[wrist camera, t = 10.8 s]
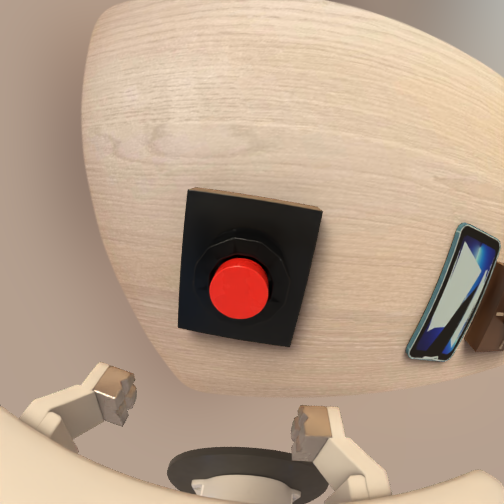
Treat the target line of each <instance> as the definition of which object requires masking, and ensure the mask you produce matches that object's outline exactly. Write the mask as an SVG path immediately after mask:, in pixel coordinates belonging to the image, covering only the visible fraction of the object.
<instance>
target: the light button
mask: <svg viewBox="0 0 504 504" xmlns="http://www.w3.org/2000/svg"><path fill="white" fill-rule="evenodd" d="M268 288H269V282H268V277H267V275H266V272H265V271H264V269H263V268H262V267H261V266H260V265H259V264H257V263H256V262H254V261H252V260H250V259H246V258H233V259H230V260H228V261H226V262H224V263H223V264H222V265H221V266H220V267H219V268H218V269H217V271H216V273H215V275H214V277H213V279H212V281H211V284H210V288H209V293H210V298H211V301H212V303H213V305H214V306H215V307H216V309H217V310H218V311H220V312H221V313H222V314H224V315H226V316H228V317H230V318H234V319H246V318H250V317H253V316H255V315H256V314H258V313H259V312H260V311H261V310H262V309H263V308H264V307H265V305H266V303H267V300H268Z"/></svg>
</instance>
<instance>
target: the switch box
mask: <svg viewBox="0 0 504 504" xmlns="http://www.w3.org/2000/svg"><path fill="white" fill-rule="evenodd" d="M322 213H323V211H322V210H320V209H319V208H318V207H316V206H310V205H305V204H300V203H294V202H289V201H283V200H277V199H272V198H266V197H259V196H253V195H247V194H241V193H234V192H227V191H220V190H213V189H206V188H198V187H195V188H192V189H188V193H187V202H186V211H185V221H184V232H183V243H182V256H181V270H180V287H179V308H178V328H182V329H187V330H191V331H196V332H201V333H206V334H211V335H216V336H222V337H227V338H233V339H238V340H244V341H251V342H257V343H263V344H270V345H277V346H285V347H290V345H291V341H292V338H293V334H294V330H295V327H296V323H297V319H298V315H299V312H300V308H301V304H302V300H303V296H304V292H305V288H306V284H307V280H308V276H309V272H310V267H311V263H312V259H313V255H314V250H315V246H316V241H317V236H318V232H319V227H320V222H321V218H322ZM233 258H246V259H250V260H252V261H254V262H256V263H257V264H259V265H260V266H261V267H262V268H263V269H264V271H265V272H266V275H267V277H268V282H269V288H268V300H267V303H266V305H265V307H264V308H263V309H262V310H261V311H260V312H259V313H258V314H256V315H255V316H253V317H250V318H246V319H234V318H230V317H228V316H226V315H224V314H222V313H221V312H220V311H218V310H217V309H216V307H215V306H214V305H213V303H212V301H211V298H210V293H209V288H210V284H211V281H212V279H213V277H214V275H215V273H216V271H217V269H218V268H219V267H220V266H221V265H222V264H223V263H224V262H226V261H228V260H230V259H233Z"/></svg>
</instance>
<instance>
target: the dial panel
mask: <svg viewBox="0 0 504 504" xmlns="http://www.w3.org/2000/svg"><path fill="white" fill-rule="evenodd" d="M503 322H504V263H501V262H498V261H496V264H495V267H494V269H493V272H492V275H491V277H490V280H489V283H488V285H487V287H486V290H485V292H484V295H483V297H482V299H481V302H480V304H479V307H478V309H477V312H476V314H475V316H474V319H473V321H472V323H471V325H470V327H469V329H468V332H467V334H466V336H465V338H464V339H465V340H466V341H467V343H468V344H469V345H470V346H471V347H472V348H473V349H474V351H475V352H488V351H503V350H504V324H503Z"/></svg>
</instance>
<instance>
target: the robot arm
mask: <svg viewBox="0 0 504 504" xmlns="http://www.w3.org/2000/svg"><path fill="white" fill-rule="evenodd" d="M134 381H135V377H134V374H133V373H130V372H127V371H125V370H122V369H119V368H116V367H114V366H110V365H108V364H105V363H102V362H100V363H98V364H97V365H96V366H95V367H94V369H93V370H92V371H91V373H90V374H89V375H88V377H87V378H86V379H85V380H84V382H83V383H82V385H81V386H80V385H75V386H72V387H69V388H67V389H64V390H61V391H58V392H55V393H53V394H50V395H47V396H44V397H41V398H38V399H35V400H33V402H32V403H31V404H30V405H29V406H28V408H27V409H26V410H25V411H24V413H23V414H22V415H21V416H20V418H17V417H16V416H14V415H13V414H12V413H10V412H9V411H7V410H6V409H5V408H4V407H2V406H1V405H0V504H292V502H294V501H295V500H297V499H298V498H300V497H301V492H300V491H298V490H295V489H291V488H290V487H288V486H287V485H286V484H285V483H283V482H280V481H278V480H275V479H271V478H266V477H260V476H252V475H222V476H216V477H212V478H209V479H198V480H192V484H191V485H192V487H193V489H194V491H195V493H196V494H197V495H196V494H191V493H186V492H182V491H178V490H174V489H170V488H167V487H163V486H159V485H156V484H153V483H149V482H146V481H143V480H140V479H137V478H134V477H131V476H129V475H126V474H123V473H121V472H118V471H116V470H113V469H110V468H108V467H106V466H103V465H101V464H99V463H96V462H94V461H92V460H90V459H88V458H86V457H84V456H81V455H79V454H78V452H79V451H78V448H77V446H76V445H75V443H74V442H73V439H74V438H76V437H78V436H79V435H81V434H83V433H85V432H87V431H88V430H90V429H92V428H93V427H95V426H97V425H98V424H100V423H102V422H104V420H105V421H108V422H110V423H113V424H116V425H119V426H122V427H123V425H124V423H125V421H126V419H127V417H128V411H127V410H129V409H131V408H133V405H134V404H135V400H136V396H137V390H136V387H135V385H134V384H133V383H134ZM291 439H292V440H293V441H294V443H293V445H292V447H291V448H292V460H293V461H313V463H314V465H315V466H316V468H317V469H318V470H319V472H320V473H321V474H322V475H323V477H324V478H325V479H326V481H327V482H328V483H329V485H330V486H331V487H332V488H333V490H334V491H335V492H334V493H333V494H332V495H331V496H330V497H328V498H327V499H326V500H325V501H324V504H504V487H503V485H502V484H501V482H500V481H499V480H497V479H496V478H494V477H493V476H491V475H490V474H488V473H486V472H484V471H482V470H474V471H471V472H469V473H466V474H463V475H461V476H458V477H455V478H453V479H450V480H447V481H444V482H441V483H438V484H435V485H431V486H428V487H425V488H422V489H418V490H414V491H410V492H406V493H401V494H397V495H392V492H391V488H390V484H389V480H388V476H387V473H386V470H385V469H383V468H382V467H381V466H380V465H379V464H378V463H377V462H375V461H374V460H373V459H372V458H371V457H370V456H369V455H368V454H367V453H365V452H364V451H363V450H362V449H361V448H360V447H359V446H358V445H357V444H356V443H355V442H354V441H352V440H351V439H350V438H346V436H345V431H344V427H343V422H342V418H341V414H340V409H339V408H338V407H327V406H326V407H325V406H307V405H301V406H300V407H299V409H298V416H297V417H295V418H294V421H293V424H292V429H291Z"/></svg>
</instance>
